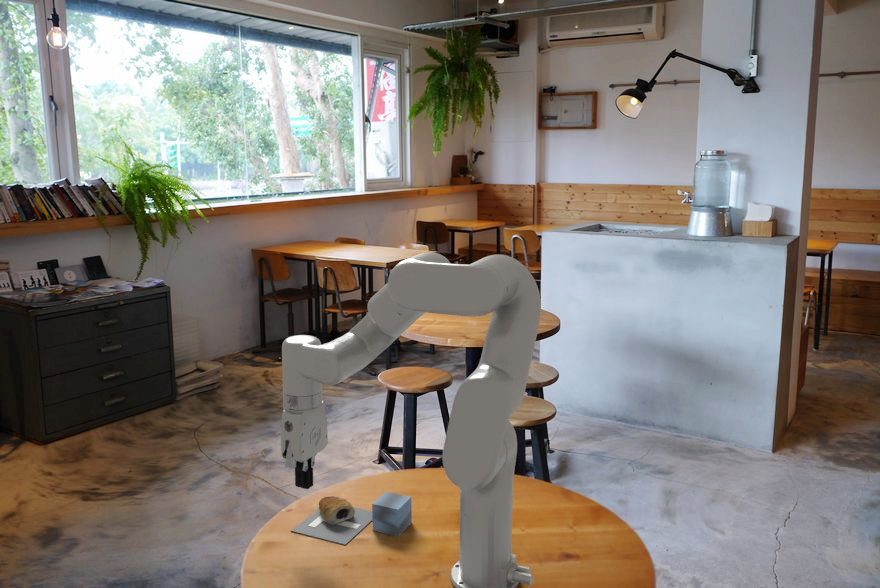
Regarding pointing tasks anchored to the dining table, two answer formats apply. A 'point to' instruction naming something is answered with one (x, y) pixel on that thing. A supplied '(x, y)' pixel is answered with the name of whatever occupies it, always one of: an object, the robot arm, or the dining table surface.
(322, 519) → the board
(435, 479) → the dining table surface
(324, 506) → the pastry
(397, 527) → the slate blue cube
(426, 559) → the dining table surface
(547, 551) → the dining table surface
